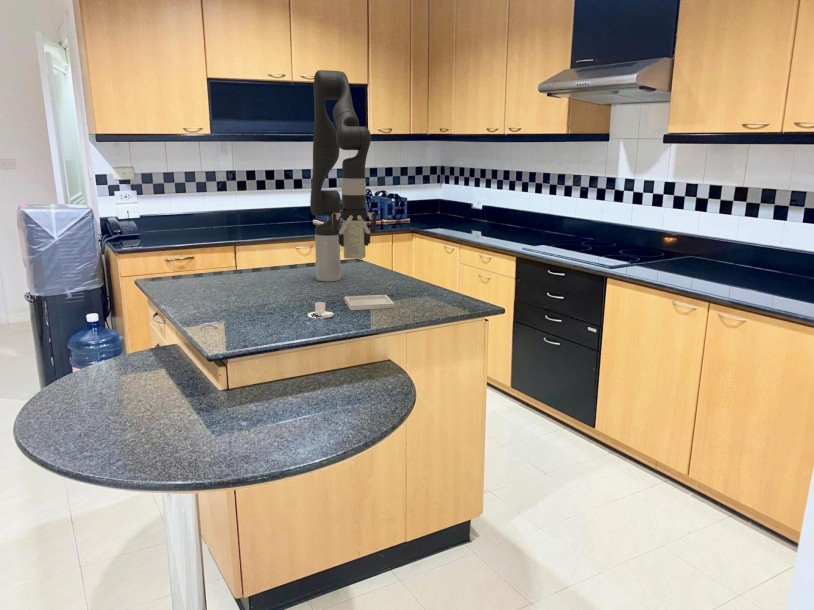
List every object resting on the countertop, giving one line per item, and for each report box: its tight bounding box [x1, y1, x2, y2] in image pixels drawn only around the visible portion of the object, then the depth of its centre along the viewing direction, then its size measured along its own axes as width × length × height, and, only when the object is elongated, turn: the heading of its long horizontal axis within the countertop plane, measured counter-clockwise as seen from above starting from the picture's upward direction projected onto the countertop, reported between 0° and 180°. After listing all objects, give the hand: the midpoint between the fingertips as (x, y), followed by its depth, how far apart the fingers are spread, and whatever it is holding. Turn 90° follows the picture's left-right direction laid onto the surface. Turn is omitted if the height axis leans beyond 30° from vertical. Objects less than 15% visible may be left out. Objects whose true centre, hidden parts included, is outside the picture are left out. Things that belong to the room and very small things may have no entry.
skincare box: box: [342, 219, 367, 260], centre depth 203 cm, size 6×4×12 cm
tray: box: [344, 294, 395, 311], centre depth 208 cm, size 12×14×2 cm
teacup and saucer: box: [307, 301, 335, 319], centre depth 194 cm, size 9×8×4 cm
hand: (354, 245), depth 203 cm, fingers closed on skincare box, 7 cm apart
